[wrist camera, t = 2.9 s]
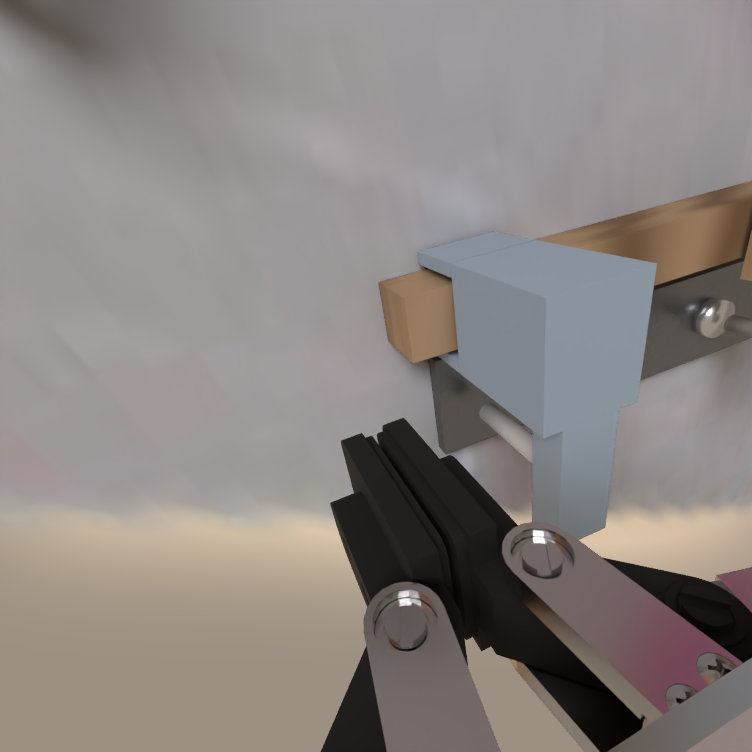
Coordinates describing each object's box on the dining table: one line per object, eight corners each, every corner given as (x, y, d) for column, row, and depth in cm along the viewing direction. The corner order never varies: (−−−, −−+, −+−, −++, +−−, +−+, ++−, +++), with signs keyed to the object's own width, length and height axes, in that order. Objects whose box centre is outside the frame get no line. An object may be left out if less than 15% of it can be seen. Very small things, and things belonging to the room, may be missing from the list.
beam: (761, 160, 25) (1013, 153, 17) (721, 334, 30) (899, 389, 22) (374, 260, 19) (484, 316, 12) (407, 451, 24) (497, 577, 17)
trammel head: (493, 231, 20) (656, 263, 13) (500, 420, 26) (620, 520, 18) (417, 251, 19) (546, 297, 12) (441, 442, 25) (540, 557, 17)
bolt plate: (762, 248, 28) (791, 252, 26) (740, 333, 30) (765, 340, 29) (428, 356, 22) (442, 368, 21) (439, 446, 25) (452, 462, 24)
